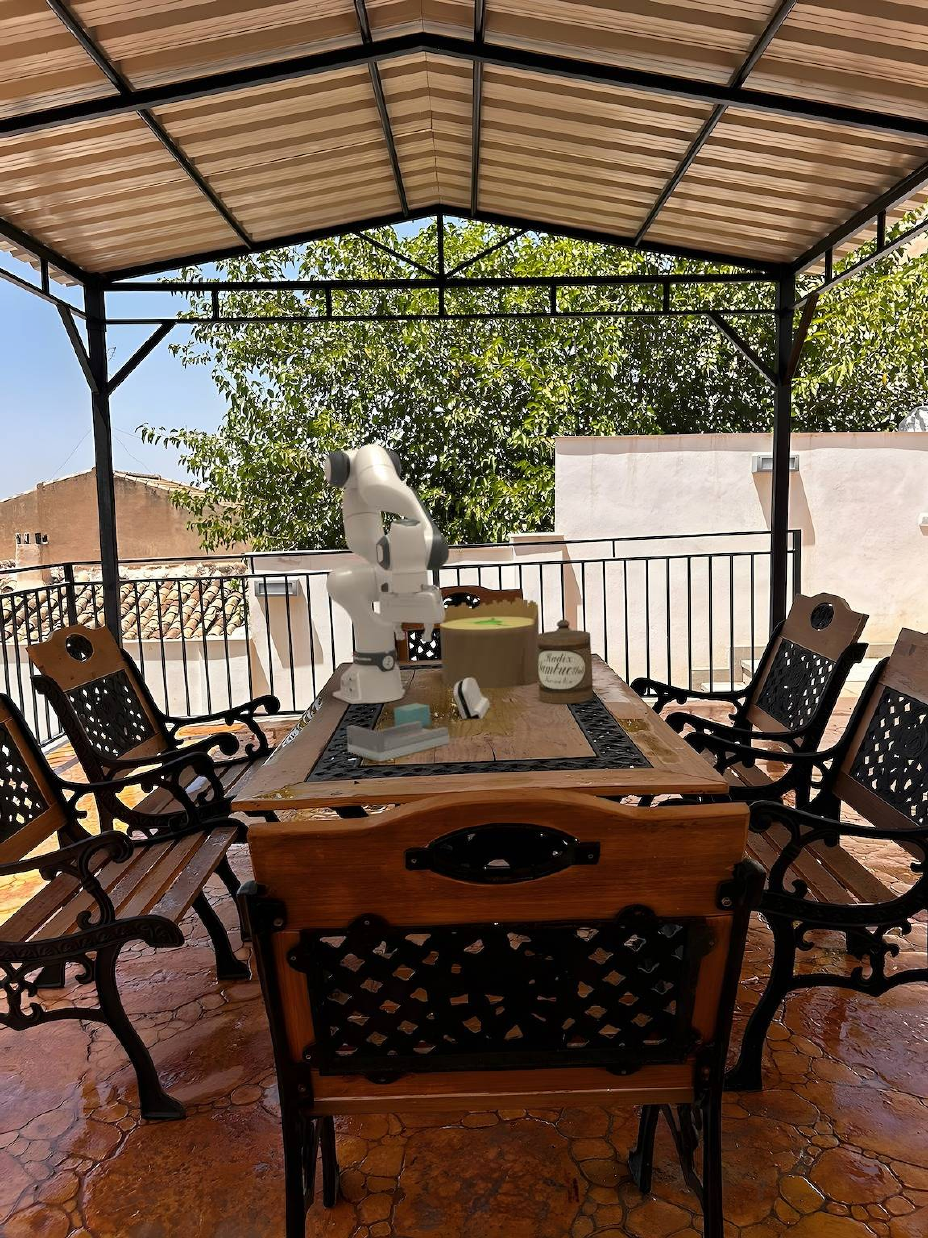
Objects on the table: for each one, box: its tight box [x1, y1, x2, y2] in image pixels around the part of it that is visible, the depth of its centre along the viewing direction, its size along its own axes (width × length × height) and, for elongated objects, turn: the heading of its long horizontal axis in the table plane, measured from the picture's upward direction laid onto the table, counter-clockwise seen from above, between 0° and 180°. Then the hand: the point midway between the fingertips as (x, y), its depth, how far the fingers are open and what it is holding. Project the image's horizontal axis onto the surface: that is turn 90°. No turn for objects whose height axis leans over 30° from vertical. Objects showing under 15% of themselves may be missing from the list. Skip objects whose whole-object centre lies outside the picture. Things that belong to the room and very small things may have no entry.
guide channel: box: [345, 721, 451, 763], centre depth 204 cm, size 12×20×6 cm, turn 131°
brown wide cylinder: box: [439, 597, 540, 689], centre depth 282 cm, size 32×35×24 cm
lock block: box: [393, 702, 431, 728], centre depth 225 cm, size 6×8×5 cm
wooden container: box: [537, 619, 594, 705], centre depth 248 cm, size 15×15×22 cm
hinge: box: [453, 678, 491, 720], centre depth 237 cm, size 17×5×10 cm, turn 171°
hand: (413, 640), depth 223 cm, fingers open, 8 cm apart
